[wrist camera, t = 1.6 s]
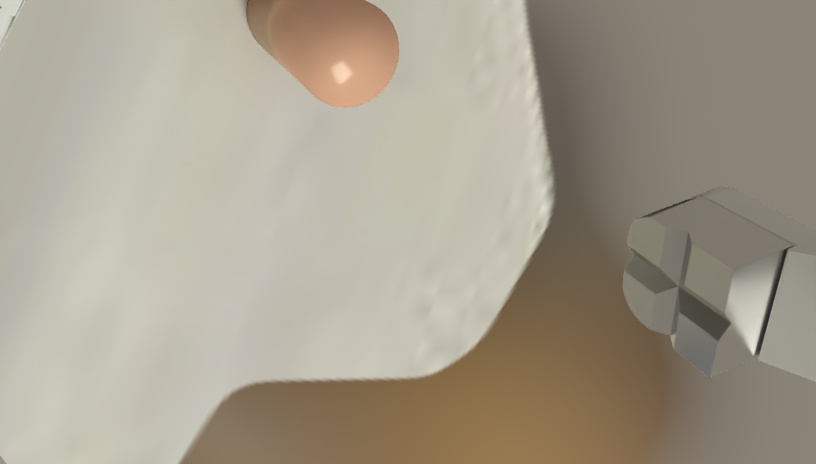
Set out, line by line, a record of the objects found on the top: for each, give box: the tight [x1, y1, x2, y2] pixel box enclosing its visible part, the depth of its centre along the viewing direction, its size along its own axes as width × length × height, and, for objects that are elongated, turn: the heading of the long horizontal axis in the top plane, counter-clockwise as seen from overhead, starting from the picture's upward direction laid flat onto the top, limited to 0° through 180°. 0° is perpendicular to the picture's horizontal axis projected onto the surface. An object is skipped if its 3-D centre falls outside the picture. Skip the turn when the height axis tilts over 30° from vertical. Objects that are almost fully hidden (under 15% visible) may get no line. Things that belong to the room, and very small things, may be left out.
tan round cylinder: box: [247, 0, 399, 108], centre depth 34 cm, size 5×5×9 cm
